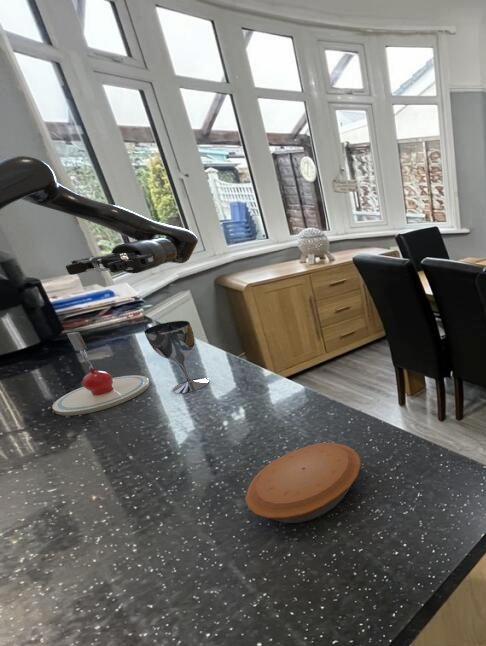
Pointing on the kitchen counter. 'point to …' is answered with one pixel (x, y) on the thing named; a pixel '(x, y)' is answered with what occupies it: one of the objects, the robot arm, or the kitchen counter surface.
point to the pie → (303, 483)
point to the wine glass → (175, 349)
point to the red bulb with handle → (91, 369)
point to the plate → (101, 396)
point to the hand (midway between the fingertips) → (90, 269)
